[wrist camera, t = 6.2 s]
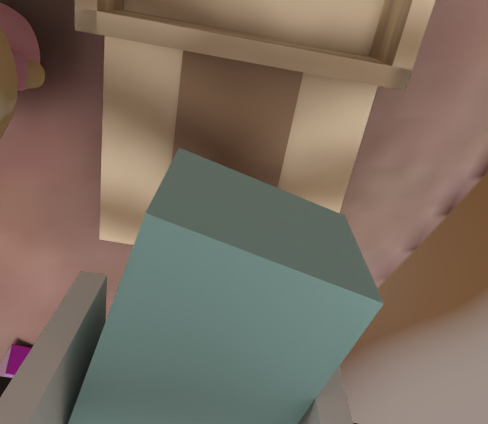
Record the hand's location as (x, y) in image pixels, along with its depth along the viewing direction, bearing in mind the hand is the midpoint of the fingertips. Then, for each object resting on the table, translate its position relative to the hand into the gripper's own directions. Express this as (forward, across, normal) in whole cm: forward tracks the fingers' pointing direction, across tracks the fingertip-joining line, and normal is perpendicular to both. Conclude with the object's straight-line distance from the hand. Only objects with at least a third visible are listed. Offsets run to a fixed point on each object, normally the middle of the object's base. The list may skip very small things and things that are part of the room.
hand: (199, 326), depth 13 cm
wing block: (+1, 0, 0) cm, 1 cm away
